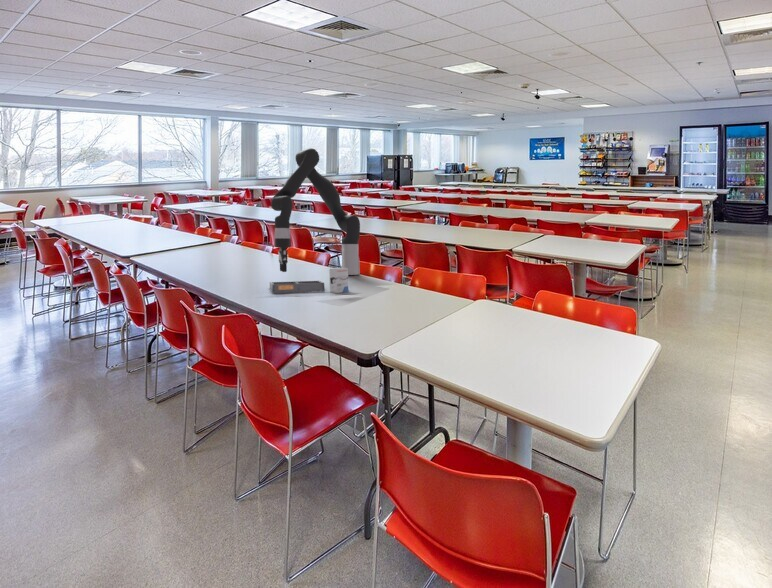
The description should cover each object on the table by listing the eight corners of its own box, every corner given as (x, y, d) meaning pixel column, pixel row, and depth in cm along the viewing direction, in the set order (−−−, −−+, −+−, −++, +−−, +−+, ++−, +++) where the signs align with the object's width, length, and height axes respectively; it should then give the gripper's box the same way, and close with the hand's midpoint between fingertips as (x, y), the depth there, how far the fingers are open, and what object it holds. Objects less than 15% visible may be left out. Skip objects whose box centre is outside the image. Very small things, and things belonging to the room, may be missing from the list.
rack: (318, 289, 249) (318, 280, 249) (324, 291, 236) (324, 282, 236) (269, 290, 241) (269, 282, 240) (272, 293, 228) (272, 284, 228)
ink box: (341, 291, 240) (341, 267, 239) (348, 291, 237) (348, 267, 235) (329, 292, 233) (328, 268, 232) (336, 293, 230) (335, 268, 229)
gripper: (292, 237, 228) (293, 272, 230) (288, 237, 241) (288, 270, 243) (276, 237, 226) (277, 272, 227) (273, 237, 239) (273, 270, 241)
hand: (283, 271), depth 235 cm, fingers open, 7 cm apart
